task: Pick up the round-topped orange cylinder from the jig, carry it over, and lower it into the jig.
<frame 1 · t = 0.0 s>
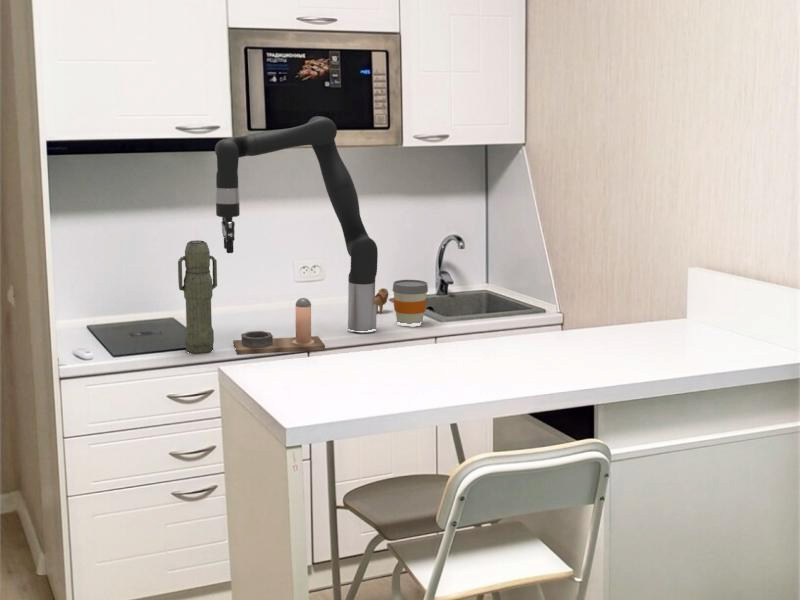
hand: (228, 250, 328), 29 cm above the kitchen counter, tool pointing down, fingers open, 8 cm apart
round-topped orange cylinder: (303, 341, 325), point 2 cm above the kitchen counter, touching jig
reusable coffee cup: (409, 324, 357), on the kitchen counter
thermos: (199, 351, 318), on the kitchen counter
lion figurine: (372, 313, 372), on the kitchen counter
jig: (278, 347, 323), on the kitchen counter
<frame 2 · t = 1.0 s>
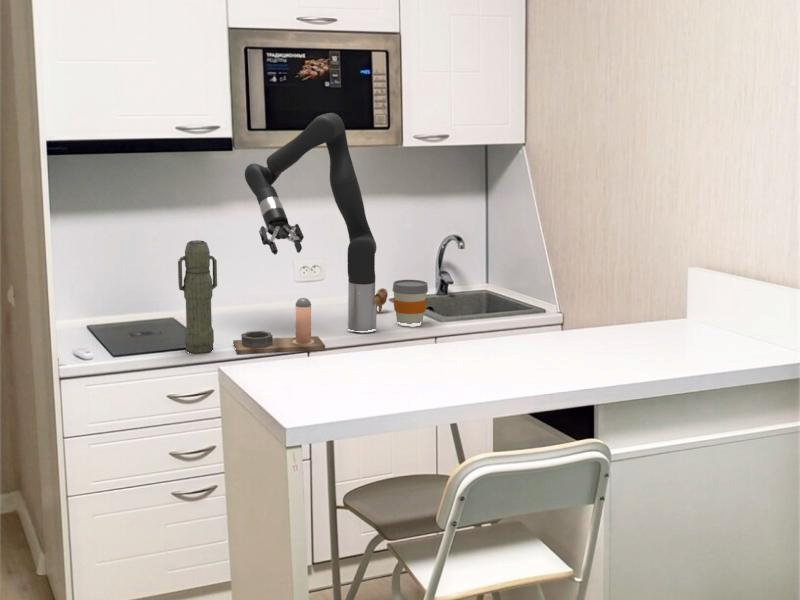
hand: (287, 252, 332), 29 cm above the kitchen counter, tool tilted 45°, fingers open, 8 cm apart
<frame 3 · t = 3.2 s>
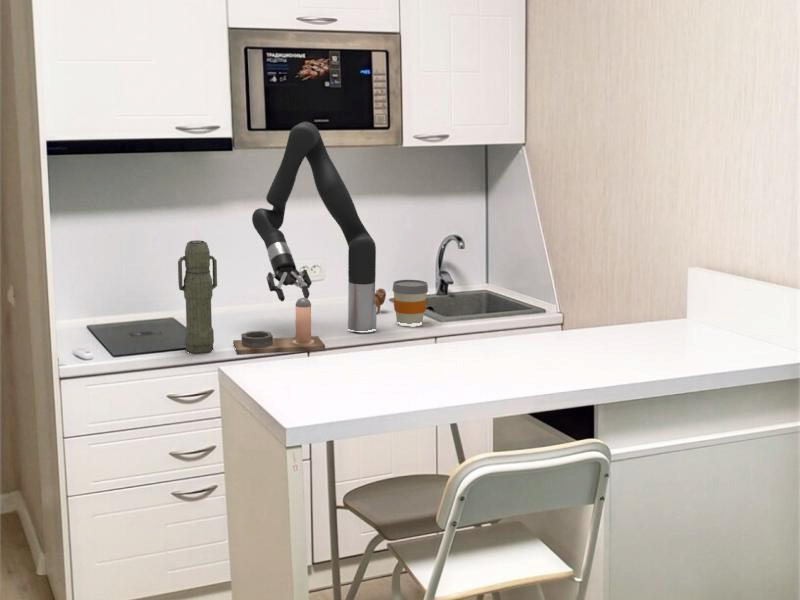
hand: (295, 298, 327), 14 cm above the kitchen counter, tool tilted 45°, fingers open, 8 cm apart
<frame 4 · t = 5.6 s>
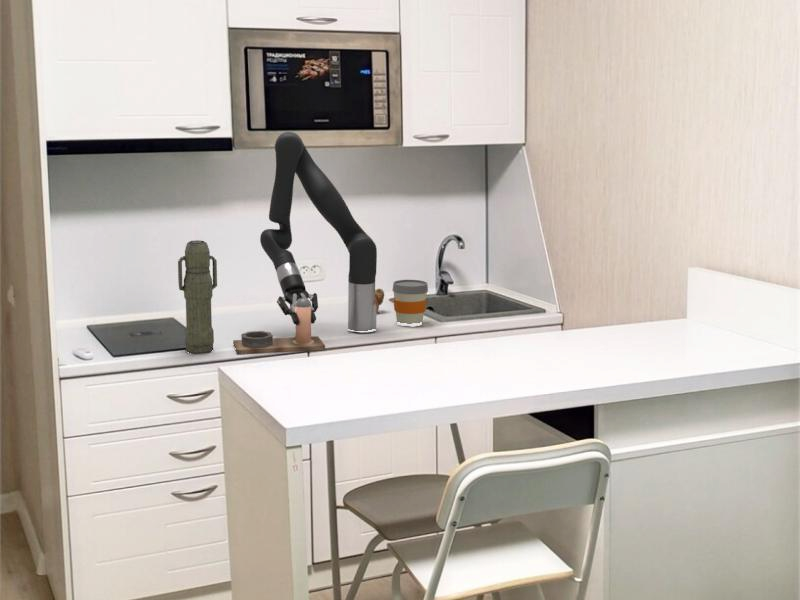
hand: (305, 322, 322), 8 cm above the kitchen counter, tool tilted 45°, fingers closed on round-topped orange cylinder, 5 cm apart
round-topped orange cylinder: (303, 341, 325), point 2 cm above the kitchen counter, touching gripper, jig
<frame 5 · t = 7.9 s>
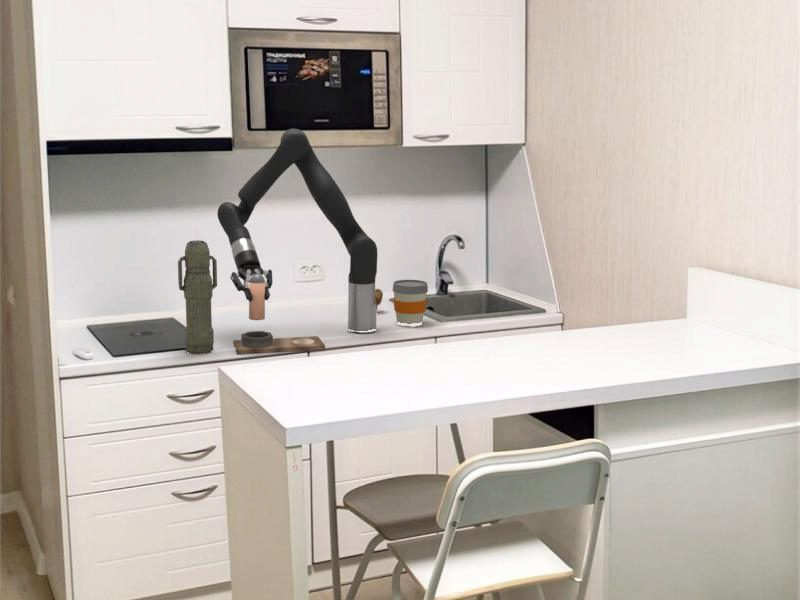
hand: (259, 299, 316), 17 cm above the kitchen counter, tool tilted 45°, fingers closed on round-topped orange cylinder, 5 cm apart
round-topped orange cylinder: (256, 318, 319), point 10 cm above the kitchen counter, touching gripper
when the fingers open (9 cm above the kitchen counter, at t = 10.1 s): round-topped orange cylinder stays where it is, resting on jig.
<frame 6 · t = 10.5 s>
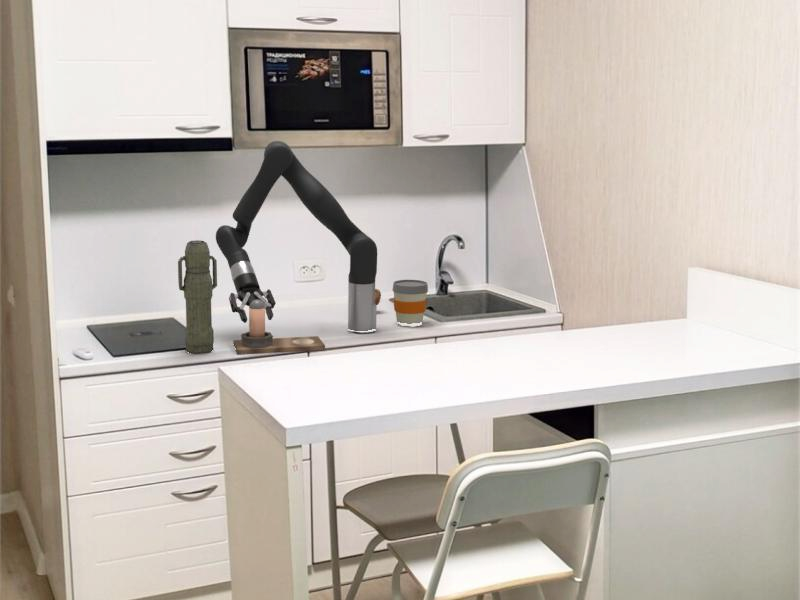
hand: (258, 320, 318), 10 cm above the kitchen counter, tool tilted 45°, fingers open, 8 cm apart
round-topped orange cylinder: (257, 343, 321), point 2 cm above the kitchen counter, touching jig
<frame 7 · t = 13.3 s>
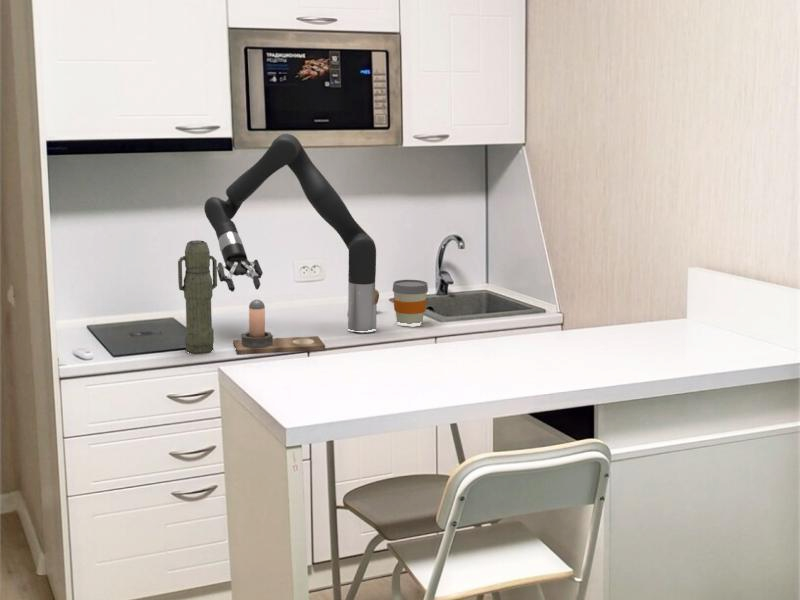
hand: (245, 289, 325), 18 cm above the kitchen counter, tool tilted 45°, fingers open, 8 cm apart
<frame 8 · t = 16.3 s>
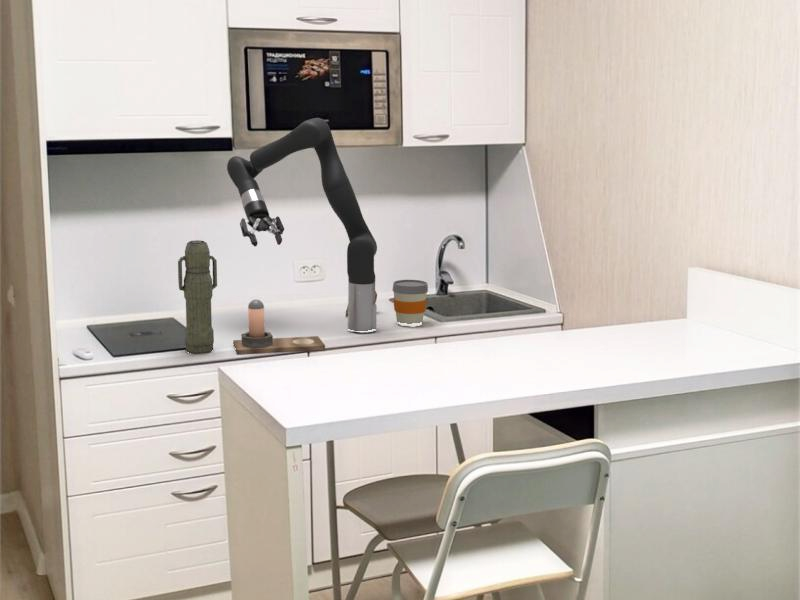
hand: (268, 244, 334), 31 cm above the kitchen counter, tool tilted 45°, fingers open, 8 cm apart
at the end: round-topped orange cylinder 0.1 cm from the target spot on the jig, point 1.5 cm above the jig's base; round-topped orange cylinder tilted 1°; the gripper is holding nothing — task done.
